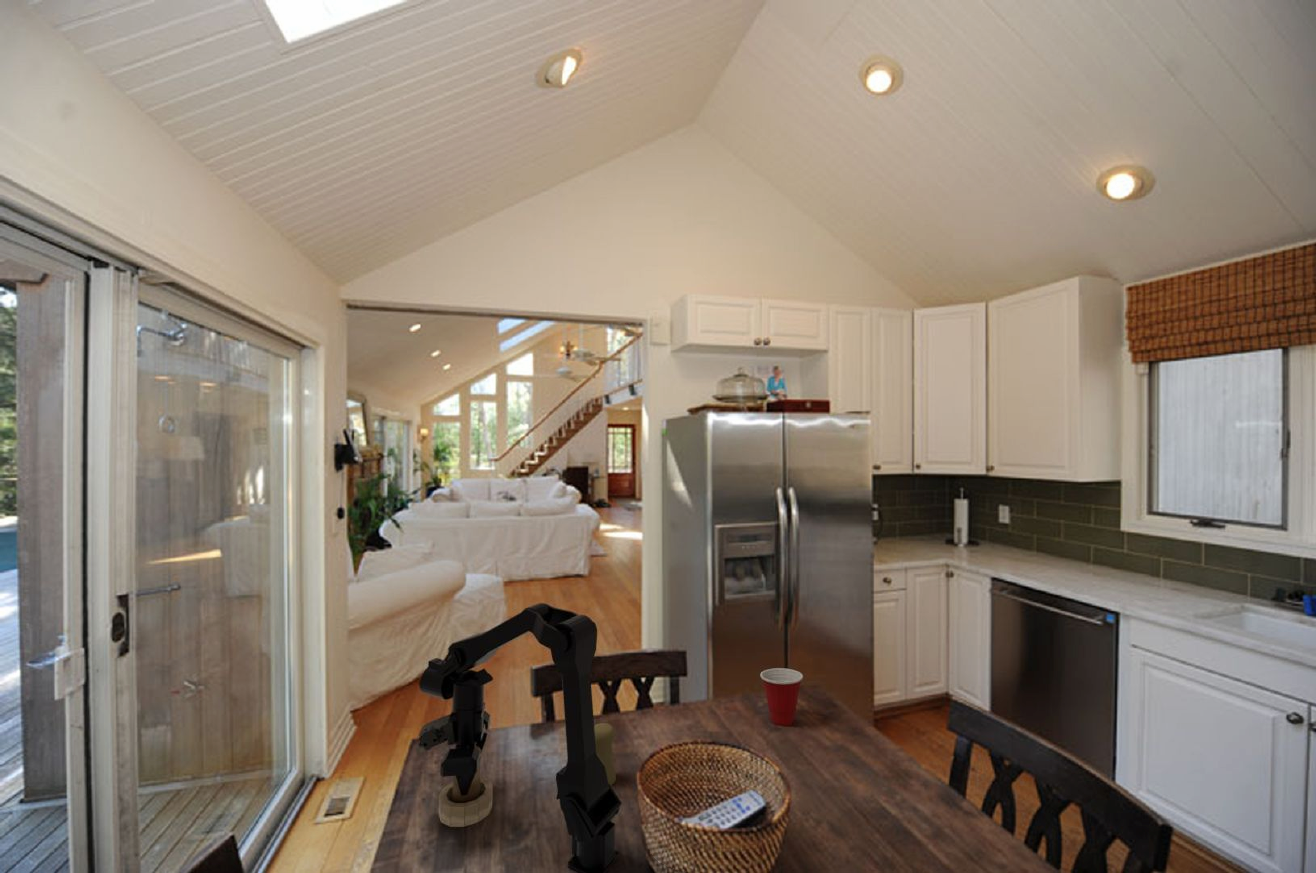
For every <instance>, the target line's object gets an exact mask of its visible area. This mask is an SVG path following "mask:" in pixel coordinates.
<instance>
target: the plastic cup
mask: <svg viewBox="0 0 1316 873" xmlns="http://www.w3.org/2000/svg"><path fill="white" fill-rule="evenodd" d="M759 676H760V678H761V679H762V681H763V682H762V683H763V686H764V690H765V697H766V702H767V703H766V704H767V707H768V713H769V718H770V721H771V723H773V724H775V725H777V726H781V727H789V726H792V724H794V721H795V714H796V711H797V704H798V699H799V698H798V697H799V690H800V686H801V683H802V680H803V678H804V676H803V673H801V672H800V671H797V670H795V669H790V668H784V667H783V668H782V667H781V668H780V667H776V668H770V669H765V670H763V671H761V672H760V675H759Z"/></svg>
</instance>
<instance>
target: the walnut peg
mask: <svg viewBox="0 0 1316 873" xmlns="http://www.w3.org/2000/svg"><path fill="white" fill-rule="evenodd" d="M475 748H477V749H478V750H479V751H480V757H481V758H482V752H481V749H480V747H478V746H475ZM481 763H482V762H481V760H480V764H479V767H478V770H477V772H476V774H475V776H474V779H473V781H472V783H471V786H470V789H469V791H468V794H467V795H463V796H462V795H461V794H460V790H459V786H458V783H457V779H456V776H452V782H453V793H452V802H453V803H467V802H470V801H474V800H476V799H478V798H479V797H480V777H481V767H482V766H481Z"/></svg>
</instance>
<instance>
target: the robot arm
mask: <svg viewBox="0 0 1316 873" xmlns="http://www.w3.org/2000/svg"><path fill="white" fill-rule="evenodd" d="M528 633H532V635H533V636H534V637H535V639H536V641H537V642H538V643H539V644H540V645H542V646H544V647H545V648H547V649H549V651H550V654H551V659H552V660H551V661H552V662H553V664H554V665H555V666H556V668H557V670H558V671H559V673H560V674H561V682H562V683H561V684H562V695H563V697H562V698H563V699H562V700H563V713H564V725H565V726H564V728H565V740H566V741H565V742H566V753H567V754H566V756H567V760H566V761H567V762H566V764H565V765H564V766H563V767H562V768H561V769H560V770H558V771H557V772H556V774H555V782H556V788H557V792H556V800H559V806H560V810H561V812H562V815H563V817H564V821H565V825H566V829H567V833H568V835H569V836H571V855H572V857H571V858H570V859H569V860H568V861H567V867H568V868H570V869H572V870H574V871H577V872H579V873H607V872H608V870H610V868H611V867H612V866H613V864H614V863H615V862H616V861H617V860H618V858H620V851H618V850H616V849H615V844H616V843H615V840H616V839H615V837H616V836H615V831H616V829H615V828H616V826H615V823H614V822H612V820H613V819H614V818H615V817H616V816H617V815H618V814H619V813H620V810H621V807H622V804H623V802H622V801H621V799H620V797H619V796H618V795H617V793H616V792H615V791H614V789H613V787H612V785H611V786H610V784H609V783H608V779H607V774H606V769H605V766H604V764H603V763H602V761H601V760H600V758H599V757H598V755H597V753H596V744H595V730H594V725H595V719H594V705H593V693H592V692H593V691H592V680H591V679H592V678H591V676H592V675H591V667H592V663H593V661H594V658H595V654H596V651H597V646H598V645H597V644H598V643H597V642H598V628H597V623H596V622H595V621H593V620H592V618H590V617H589V616H587V615H585V614H578V613H576V612H574V611H571V610H567V609H562V608H559V607H558V608H557V607H554V606H551V605H550V604H547V603H544V602H539V603H535V604H533V605H530V606H528V607H525V608H524V609H523V610H522V611H521V612H519V613H518V614H515V615H514V616H512V617H510V618H508V619H507V620H505V621H503V622H500V624H498V625H496V626H494V627H491V629H488V630H486V631H482V632H479V633H476V634H473V635H470V636H467V637H466V638H463V639H460V640H457V641H455V642H453V643H451V644H450V645H449V646H448V648H447V650H448V652H447V654H446V656H445V657H444V659H441V658H438V657H435V658H433V659H430V660H428V662H427V664H428V665H427V668H425V670H424V671H423V672H422V674H421V677H420V680H419V682H418V686H419V687H418V688H419V690H420V692H421V693H422V694H424V695H429V696H431V697H435V698H439V699H442V700H447V701H448V700H451V699H452V704H451V706H452V708H451V712H450V713H449V714H447V715H444V716H441V717H439V718H436V719H434V720H432V721H429V722H427V723H425V724H424V725H423V726H422V727H421V730H420V732H419V734H418V739H419V743H418V747H420V748H421V747H422V748H423V751H425V752H426V751H430V750H431V749H432V748H434V747H436V746H438V745H441V744H444V743H445V742H447V743H446V745H447V746H452V745H453V746H454V745H455V748H449V749H448V750H447V751H446V752H445V753H444V755H443V758H442V760H441V763H440V768H439V769H440V771H439V772H440V773H439V774H440V776H441V777H443V778H444V777H446V778H447V777H453V776H456V779H457V783H458V786H459V790H460V794H461V795H462V796H463V795H467V794H468V791H469V789H470V786H471V783H472V781H473V779H474V776H475V774H476V772H477V770H478V767H479V764H480V760H481V759H482V756H481V757H480V751H479V750H478V749H477V748H475V746H478V747H480V749H481V753H482V752H483V749H484V747H485V744H486V742H487V737H488V733H487V732H485V731H489V728H490V726H491V714H490V713H489V712H488V711H487V710H485V709H486V702H484V701H485V698H484V696H485V685H487V684H488V683H490V682H493V680H494V677H493V676H492V675H491V674H490V673H489V672H488V671H487V669H486V668H482V669H481V670H480V669H479V670H475V667H478V666H480V665H482V664H484V663H486V662H488V661H489V660H490V659H491V658H493V657H494V656H495V655H496V654H497V651H498V650H500V649H501V648H502V647H503V646H505V645H508V644H510V643H511V642H513V641H515V640H517V639H519V638H521V637H522V636H524V635H525V634H528Z"/></svg>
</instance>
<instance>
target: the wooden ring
mask: <svg viewBox="0 0 1316 873" xmlns="http://www.w3.org/2000/svg"><path fill="white" fill-rule="evenodd" d="M493 792H494V791H493V785H492V783H491V781H490V780H488V779H486V778H484V777H481V776H480V797H479V798H478V799H476V800H474V801H470V802H467V803H453V802H452V793H453V781H451V782H450V783H448V784H447V785H446V786H445V787H443V789H442V790H441V791H440V794H439V795H438V817H439V821H440V823H442V824H444V825H445V826H448V827H449V828H450V827H451V828H463V827H468V826H471V825H474V824H477V823H479V822H481V821H482V820H484V819H485V818H486V817H487V816H489V814H490V812H491V810H492V808H493V795H494V794H493Z"/></svg>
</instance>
